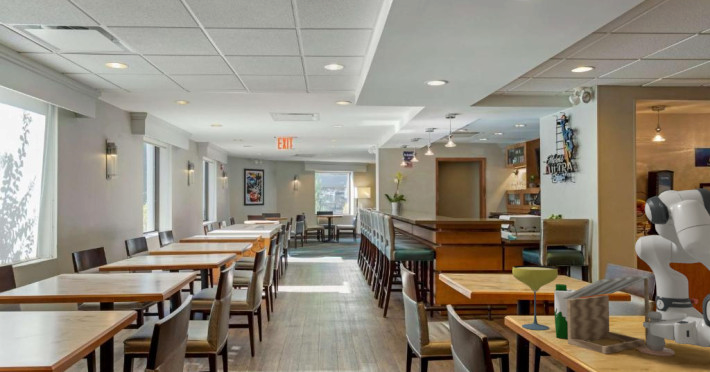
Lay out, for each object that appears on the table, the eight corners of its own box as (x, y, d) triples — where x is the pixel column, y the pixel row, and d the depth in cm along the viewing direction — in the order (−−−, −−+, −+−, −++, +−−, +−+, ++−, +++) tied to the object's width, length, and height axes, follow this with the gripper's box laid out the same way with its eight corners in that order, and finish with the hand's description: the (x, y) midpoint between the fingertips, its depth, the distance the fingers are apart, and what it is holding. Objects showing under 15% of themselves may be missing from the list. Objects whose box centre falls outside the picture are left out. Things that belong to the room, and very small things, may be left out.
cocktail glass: (509, 322, 223) (508, 265, 225) (551, 323, 222) (550, 265, 223) (518, 331, 205) (517, 269, 207) (564, 332, 204) (563, 270, 205)
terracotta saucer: (657, 347, 183) (657, 344, 183) (682, 355, 172) (682, 353, 172) (630, 348, 181) (630, 346, 181) (653, 357, 170) (653, 354, 170)
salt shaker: (668, 352, 173) (667, 313, 173) (650, 351, 174) (649, 313, 174) (661, 347, 178) (660, 310, 179) (643, 347, 180) (642, 309, 180)
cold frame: (611, 335, 199) (610, 270, 200) (651, 345, 185) (649, 275, 186) (562, 344, 186) (561, 274, 187) (601, 355, 172) (599, 280, 173)
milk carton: (557, 333, 203) (556, 283, 204) (582, 336, 198) (581, 284, 199) (553, 338, 195) (552, 285, 196) (578, 341, 190) (577, 287, 192)
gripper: (711, 318, 171) (669, 310, 183) (676, 324, 161) (634, 316, 173) (712, 337, 170) (670, 328, 182) (676, 344, 160) (634, 335, 173)
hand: (652, 322), depth 178 cm, fingers open, 8 cm apart
